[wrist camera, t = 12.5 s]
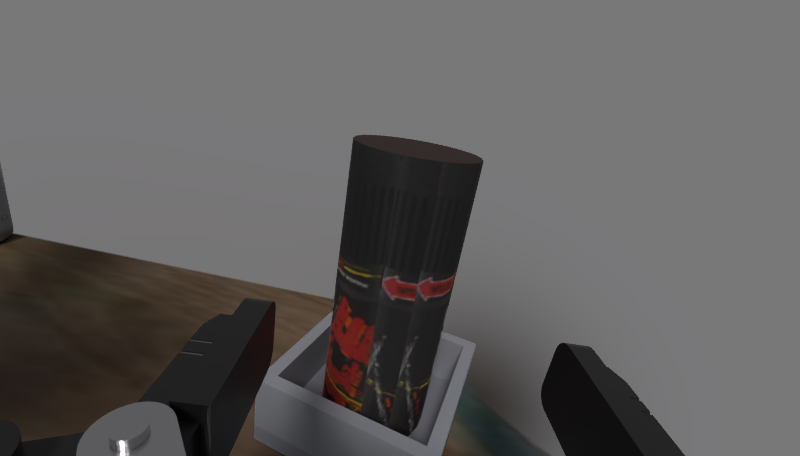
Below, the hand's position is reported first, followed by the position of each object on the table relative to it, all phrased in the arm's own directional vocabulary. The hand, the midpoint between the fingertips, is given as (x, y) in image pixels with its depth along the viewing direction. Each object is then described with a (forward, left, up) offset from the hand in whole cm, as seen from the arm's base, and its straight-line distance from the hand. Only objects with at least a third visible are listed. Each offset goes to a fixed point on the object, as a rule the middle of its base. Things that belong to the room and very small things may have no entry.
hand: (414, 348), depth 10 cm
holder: (0, +9, -12) cm, 14 cm away
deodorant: (0, +8, -11) cm, 14 cm away
